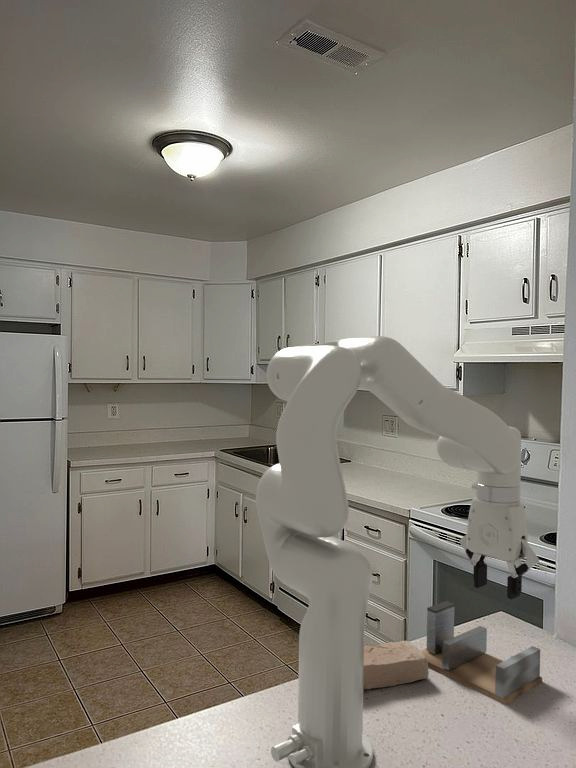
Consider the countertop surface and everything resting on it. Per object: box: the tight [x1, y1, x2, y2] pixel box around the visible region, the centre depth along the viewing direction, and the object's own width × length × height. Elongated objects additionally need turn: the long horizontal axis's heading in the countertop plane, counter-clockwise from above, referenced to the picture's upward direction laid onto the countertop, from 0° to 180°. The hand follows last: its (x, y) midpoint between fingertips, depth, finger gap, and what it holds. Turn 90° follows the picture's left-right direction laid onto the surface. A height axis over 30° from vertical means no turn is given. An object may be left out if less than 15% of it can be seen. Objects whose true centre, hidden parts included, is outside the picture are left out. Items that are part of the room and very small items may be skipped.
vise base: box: [421, 645, 543, 706], centre depth 112 cm, size 12×20×6 cm, turn 39°
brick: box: [363, 640, 430, 690], centre depth 109 cm, size 16×8×5 cm, turn 107°
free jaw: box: [426, 600, 488, 670], centre depth 116 cm, size 12×8×8 cm, turn 129°
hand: (496, 590), depth 109 cm, fingers open, 6 cm apart
